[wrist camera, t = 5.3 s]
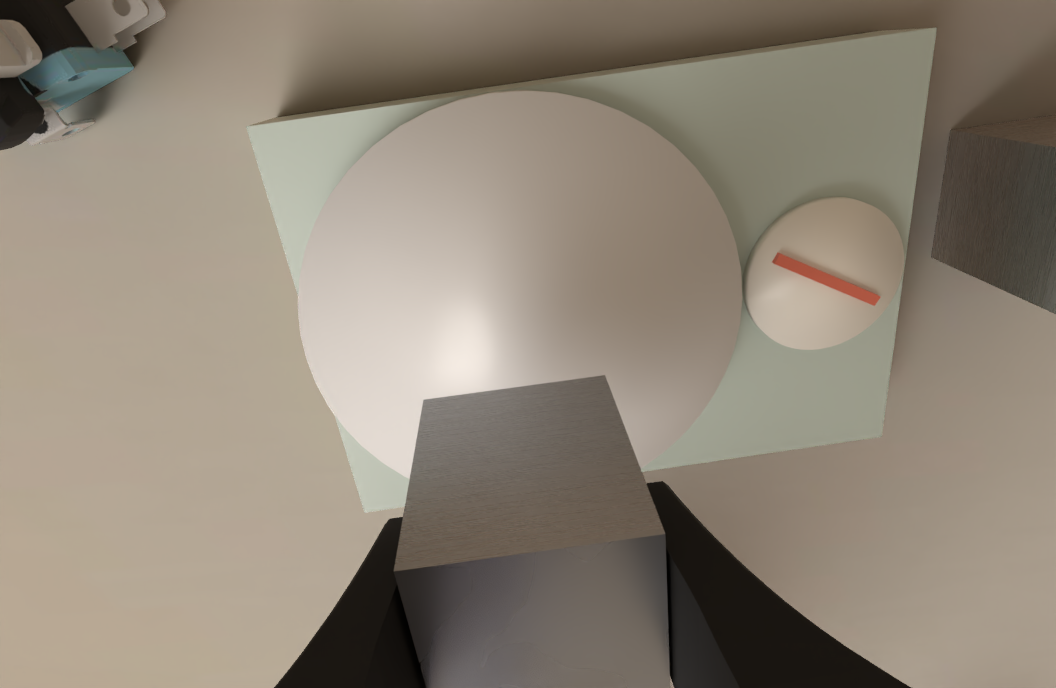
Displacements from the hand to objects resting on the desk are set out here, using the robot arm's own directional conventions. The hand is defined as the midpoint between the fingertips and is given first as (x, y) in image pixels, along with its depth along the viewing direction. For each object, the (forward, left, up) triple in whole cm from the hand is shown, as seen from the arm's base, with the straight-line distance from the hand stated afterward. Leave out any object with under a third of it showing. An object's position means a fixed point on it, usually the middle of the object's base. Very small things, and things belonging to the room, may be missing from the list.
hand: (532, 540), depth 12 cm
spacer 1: (0, 0, -3) cm, 3 cm away
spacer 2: (+3, -16, -10) cm, 19 cm away
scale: (+2, -3, -9) cm, 10 cm away
